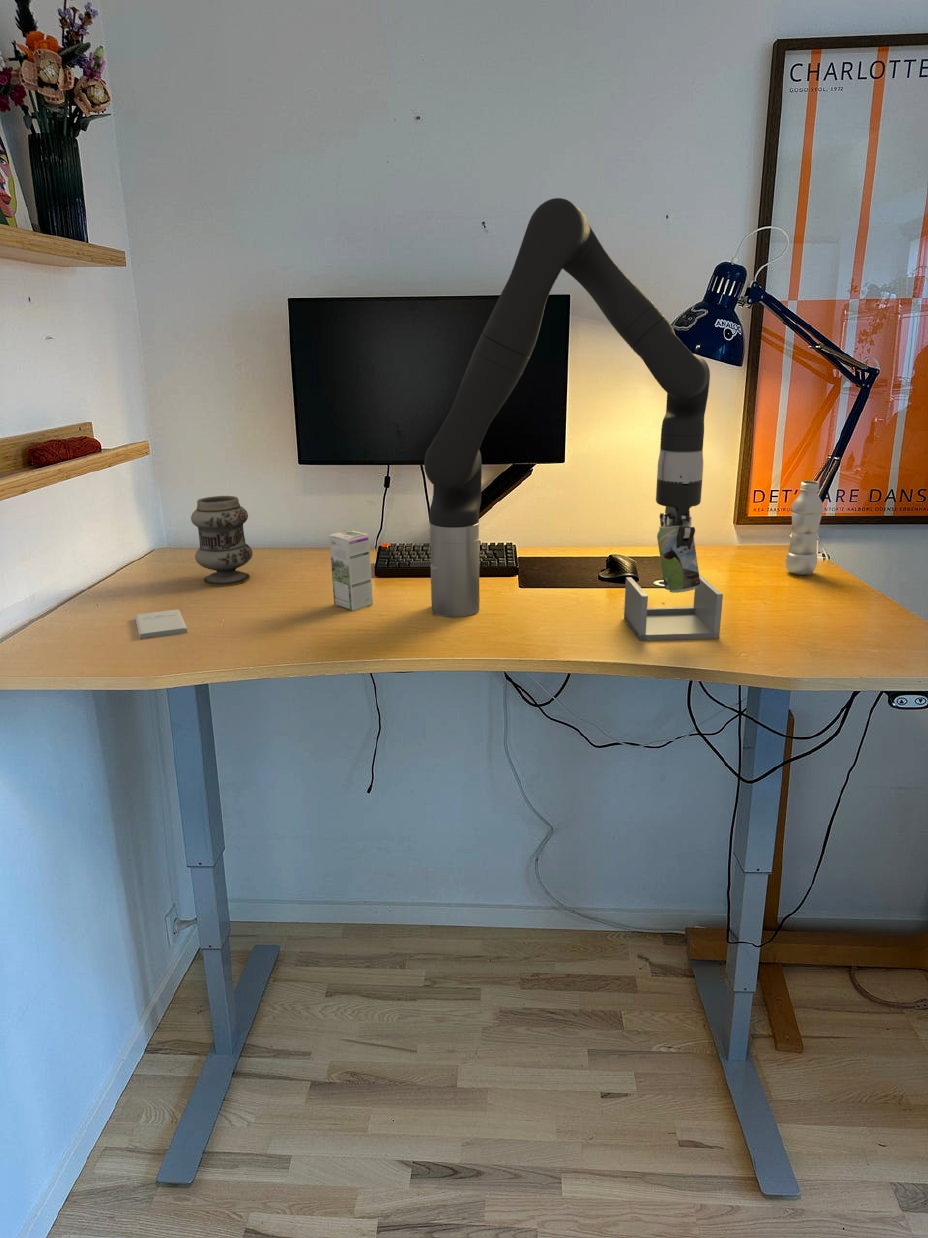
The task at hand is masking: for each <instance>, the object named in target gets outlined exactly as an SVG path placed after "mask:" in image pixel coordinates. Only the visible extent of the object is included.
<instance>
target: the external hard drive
mask: <svg viewBox="0 0 928 1238" xmlns="http://www.w3.org/2000/svg"><path fill="white" fill-rule="evenodd" d="M134 619H135V620H136V621H135V620H134V621H135V624H137V625H136V628H138V629H137V632H138V636H139V639H140V638H146V639H148V638H147V637H153V638H156V637H155V636H160V637H166V636H165V635H168V636H172V634H175V635H180V633H182V634H187V633H188V627H187V626H186V623H185V620H184V618H183V616H182V613H181V611H180V609H170V610H163V611H162V610H161V611H154V612H146V613H145V612H144V613H137V614H135V615H134Z"/></svg>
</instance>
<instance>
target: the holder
mask: <svg viewBox="0 0 928 1238" xmlns="http://www.w3.org/2000/svg"><path fill="white" fill-rule="evenodd" d="M699 577H700V584H699V585H698V586H697V588H696V589H694V595H693V596H694V597H693V606H669V607H667V606H666V607H664V606H662V607H648V602H649V601H648V600H649V596H648V594H646V592H645V591H644V590H643V589H642V588H641V586H640V585H639V584H638V583H637V581H635V579H633V578H632V577H629V576H627V577H625V585H624V587H625V591H624V612H623V620H624V621H625V622H626V624H627V625H628V627H629V628H630V630H631V631H632V632H633V633H634V634H635V636H636V637H637V639H638V640H639V641H668V640H669V641H670V640H672V641H673V640H674V641H675V640H702V639H704V640H705V639H708V640H709V639H720V635H721V634H720V633H721V632H720V631H721V621H722V611H723V599H724V594H723V592H721V591H720V590H719V589H718V588H716V586H714V585H713V584H712V583H711V582H709V580H707V579H706V578H705V577H704V576H703V575H702V574H701V575H700V574H699Z"/></svg>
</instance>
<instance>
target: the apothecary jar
mask: <svg viewBox="0 0 928 1238" xmlns="http://www.w3.org/2000/svg"><path fill="white" fill-rule="evenodd" d="M190 519H191V523H192V524H193V526H195V527H197V531H198V539H199V540H198V541H199V548H198V549H197V550H196V552H195V554H194V557H195V561H196V562H197V564H198V565H200V566H201V567H202V568H205V569H207V570H211V571H215V572H213V573H210V574H209V575H207V576H205V577H204V579H203V584H204V585H207V586H209V587H227V586H228V587H230V586H235V585H240V584H243V583H246V582H247V581H249V580H250V578H251V577H250V575H249V573H247V572H244V571H240V570H236V569H238V568H240V567H243V566H244V565H246V564H247V563H249V561H250V560H251V559H252V557H253V550H252V547H250V545H248V544H247V543H246V538H245V532H244V524H245V523H246V522H247V521H248V519H249V514H248V511H247V510H246V509H245V508H244V507H243V506H241V504H240V502H239V498H238V497H237V496H236V495H235V496H233V495H216V496H215V495H213V496H208V497H203V498H199V499H197V501H196V509H195V510H194V511H193V512H192V514H191V516H190Z"/></svg>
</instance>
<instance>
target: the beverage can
mask: <svg viewBox="0 0 928 1238" xmlns="http://www.w3.org/2000/svg"><path fill="white" fill-rule="evenodd" d="M679 527H681V525H680V526H670V527H669V526H661V525H660V526H659V530H658V532H657V535H656V539H657V545H658V551H659V558H660V563H661V564H660V565H661V572H662V577H663V584H664V589H665V590H666V591H669V592H670V593H672V594H673V593H677V594H679V593H687V592H690V591H693V590H694V591H695V589H696V588H697V586H698V585H699V584H700V577H699V575H700V572H699V566H698V565H699V564H698V558H697V556H698V555H697V551H696V543H695V536H694V537H693V541H692V545H691V548H690V550H689V549H688V546H680V547H679V548H677V534H678V533H677V531H678V530H679ZM689 527H691V526H689ZM676 548H677V549H676Z"/></svg>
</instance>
